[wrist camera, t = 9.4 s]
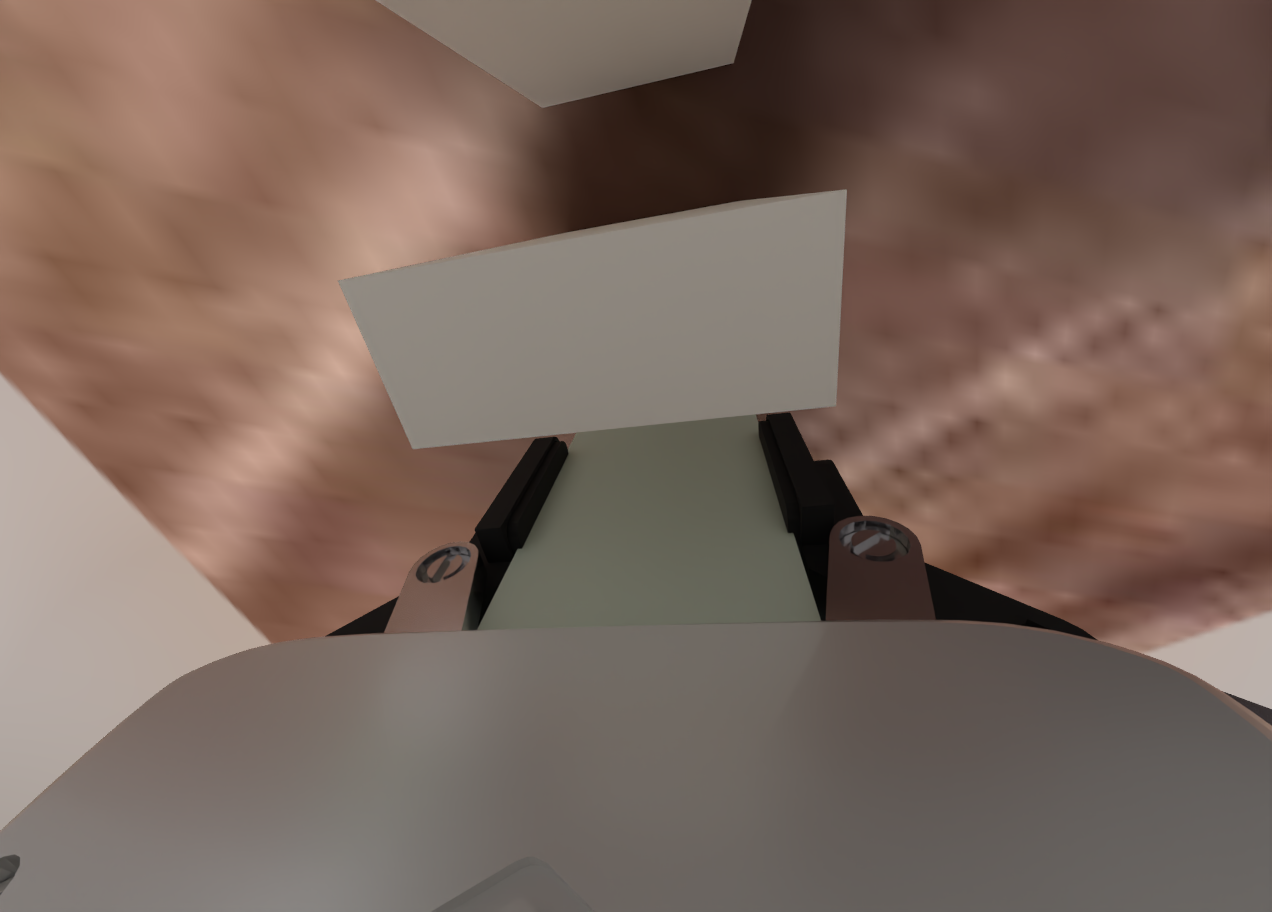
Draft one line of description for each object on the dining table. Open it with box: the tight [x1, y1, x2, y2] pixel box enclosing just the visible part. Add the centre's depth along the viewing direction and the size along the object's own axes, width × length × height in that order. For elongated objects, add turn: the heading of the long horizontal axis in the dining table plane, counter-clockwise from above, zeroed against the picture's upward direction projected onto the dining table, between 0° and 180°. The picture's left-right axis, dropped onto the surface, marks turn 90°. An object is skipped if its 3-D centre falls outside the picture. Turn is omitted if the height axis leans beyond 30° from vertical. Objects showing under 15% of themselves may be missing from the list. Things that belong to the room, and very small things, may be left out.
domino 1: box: [338, 189, 847, 449], centre depth 9 cm, size 5×2×10 cm, turn 99°
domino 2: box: [477, 414, 821, 630], centre depth 9 cm, size 5×2×10 cm, turn 99°
